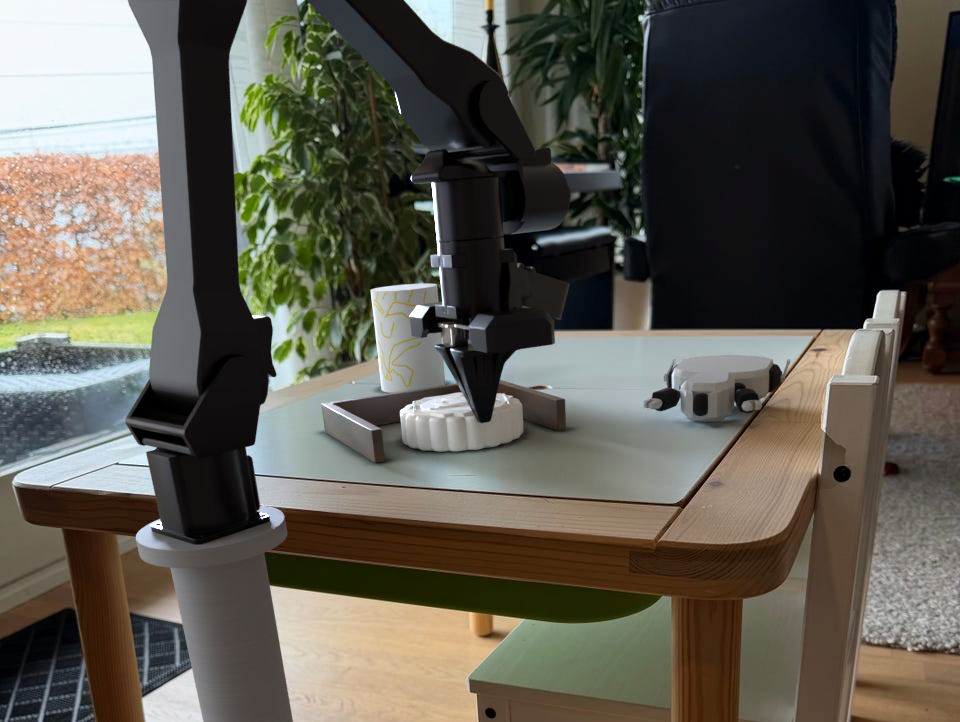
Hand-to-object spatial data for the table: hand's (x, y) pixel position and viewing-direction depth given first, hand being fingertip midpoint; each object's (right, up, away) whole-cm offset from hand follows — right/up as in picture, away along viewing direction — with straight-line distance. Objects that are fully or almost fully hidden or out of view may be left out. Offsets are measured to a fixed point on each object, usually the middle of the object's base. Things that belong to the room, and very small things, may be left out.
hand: (484, 422), depth 90 cm
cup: (-9, +12, +35) cm, 38 cm away
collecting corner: (-4, +1, +10) cm, 10 cm away
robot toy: (+24, +3, +9) cm, 25 cm away
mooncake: (-2, 0, +7) cm, 7 cm away
